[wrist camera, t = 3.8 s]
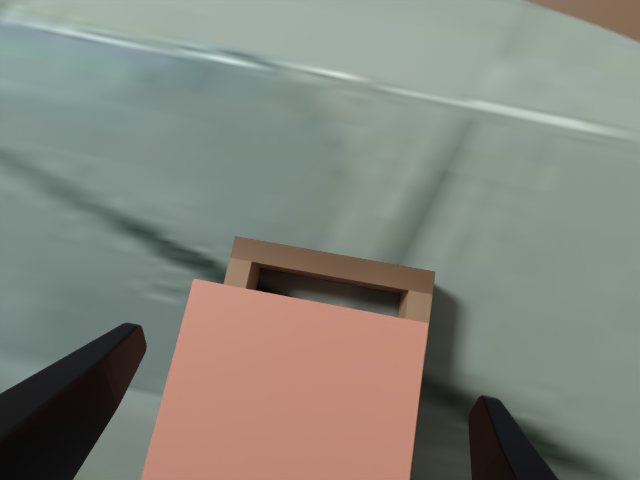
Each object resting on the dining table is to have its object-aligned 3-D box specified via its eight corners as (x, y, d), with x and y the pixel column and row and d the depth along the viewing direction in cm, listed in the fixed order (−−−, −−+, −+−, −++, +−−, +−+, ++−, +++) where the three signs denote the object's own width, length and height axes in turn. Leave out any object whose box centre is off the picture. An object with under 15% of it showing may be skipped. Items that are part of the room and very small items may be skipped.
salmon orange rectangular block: (358, 433, 16) (393, 614, 6) (251, 409, 16) (123, 544, 7) (375, 320, 17) (428, 323, 7) (274, 301, 17) (193, 278, 8)
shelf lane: (393, 519, 15) (402, 548, 13) (192, 471, 16) (172, 492, 14) (424, 277, 17) (435, 271, 15) (246, 245, 18) (235, 236, 16)
